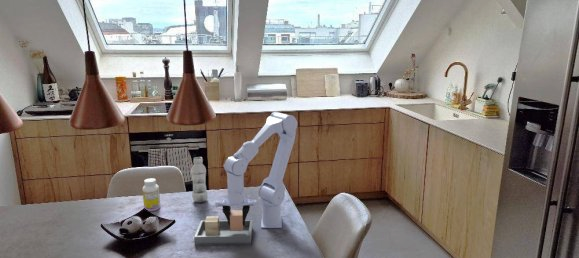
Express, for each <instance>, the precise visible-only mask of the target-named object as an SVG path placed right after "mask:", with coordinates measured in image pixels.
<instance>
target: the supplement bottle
mask: <svg viewBox="0 0 579 258" xmlns="http://www.w3.org/2000/svg"><path fill="white" fill-rule="evenodd" d="M143 181H144V182H143V183H144V185H143V186H142V199H143V208H146V209H147V210H148V211H147V212H154V211H157V210H159V209H160V208H161V196H160V186H159V185H158V184H157V179H156V178H154V177H153V178H152V177H150V178H146V179H144V180H143Z"/></svg>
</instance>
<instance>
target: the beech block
mask: <svg viewBox="0 0 579 258" xmlns="http://www.w3.org/2000/svg"><path fill="white" fill-rule="evenodd" d="M204 220H205V236H217V235H219V231H220V230H219V220H220V216H217V215H215V216H212V215H211V216H207V215H206V218H205V219H204Z"/></svg>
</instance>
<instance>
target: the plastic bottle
mask: <svg viewBox="0 0 579 258" xmlns="http://www.w3.org/2000/svg"><path fill="white" fill-rule="evenodd" d="M203 161H204V160H203V157H202V156H197V157H193V165H192V166H191V168H190V174H191V179H192V200H193V202H195V203H204V202H206V201H207V200H208V197H209V195H208V191H207V185H206V184H207V183H206V176H207V169H206V166H205V165H204V164H203Z"/></svg>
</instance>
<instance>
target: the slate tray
mask: <svg viewBox="0 0 579 258" xmlns="http://www.w3.org/2000/svg"><path fill="white" fill-rule="evenodd" d="M205 220H206V219H204V220H200V222H199V224H198V227H197V230H196V232H195V235H194V238H193V239H194V246H195V247H200V246H202V247H203V246H205V247H206V246H207V247H208V246H210V247H212V246H214V247H217V246H219V247H220V246H224V247H225V246H251V245H252V236H253V223H254V222H253V219H245V226H244V227H243V231H230V226H229V224H228V221H227V219H225V220H224V219H219V230H220V231H219V235H217V236H205Z"/></svg>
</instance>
